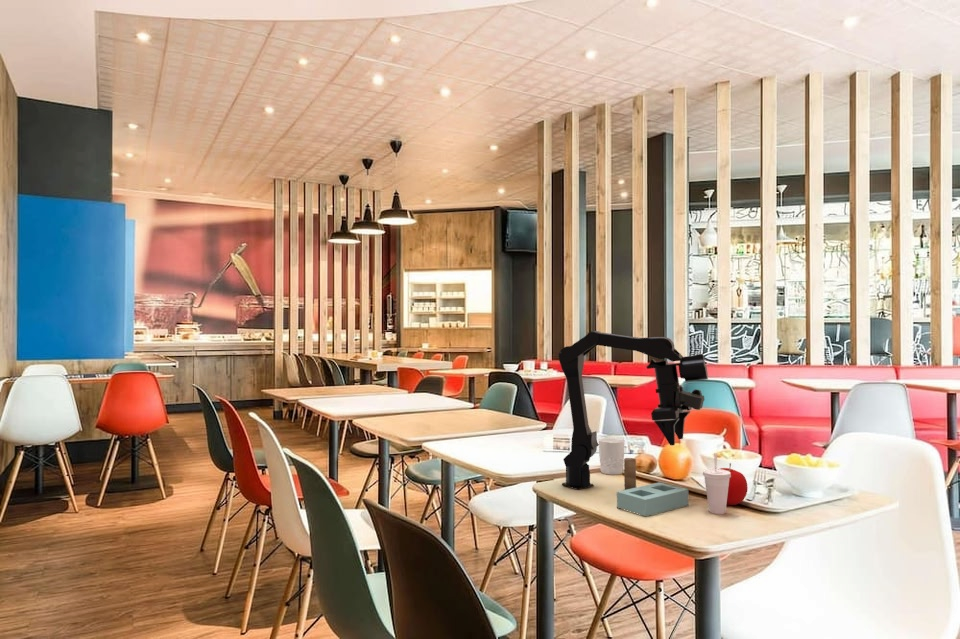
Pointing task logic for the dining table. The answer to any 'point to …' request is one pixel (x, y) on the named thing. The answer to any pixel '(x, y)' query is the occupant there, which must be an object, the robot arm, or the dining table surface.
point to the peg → (629, 473)
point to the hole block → (652, 498)
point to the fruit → (736, 487)
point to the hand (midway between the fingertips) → (676, 442)
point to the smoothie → (717, 488)
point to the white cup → (611, 455)
